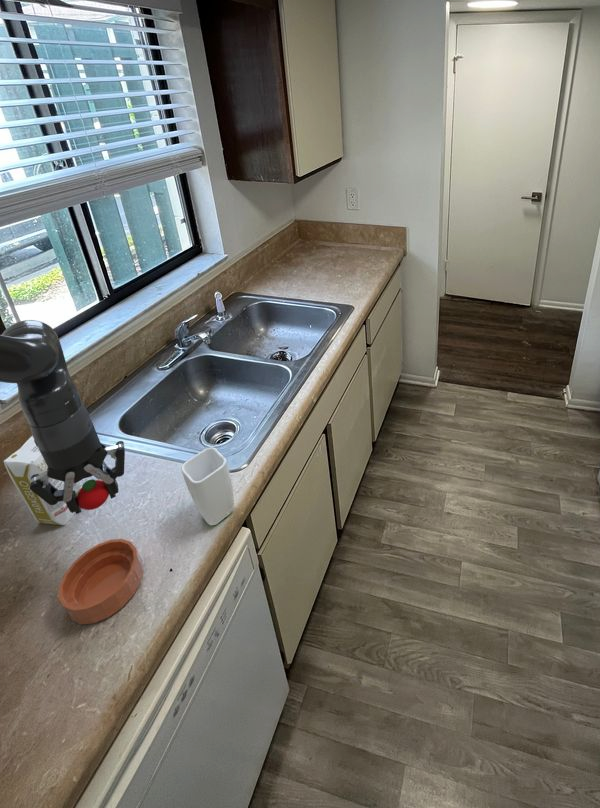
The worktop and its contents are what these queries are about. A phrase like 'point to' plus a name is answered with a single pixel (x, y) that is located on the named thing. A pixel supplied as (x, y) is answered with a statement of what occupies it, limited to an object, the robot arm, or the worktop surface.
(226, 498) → the cup
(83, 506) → the tomato
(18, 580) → the worktop surface
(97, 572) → the bowl
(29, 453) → the juice carton
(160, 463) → the worktop surface
